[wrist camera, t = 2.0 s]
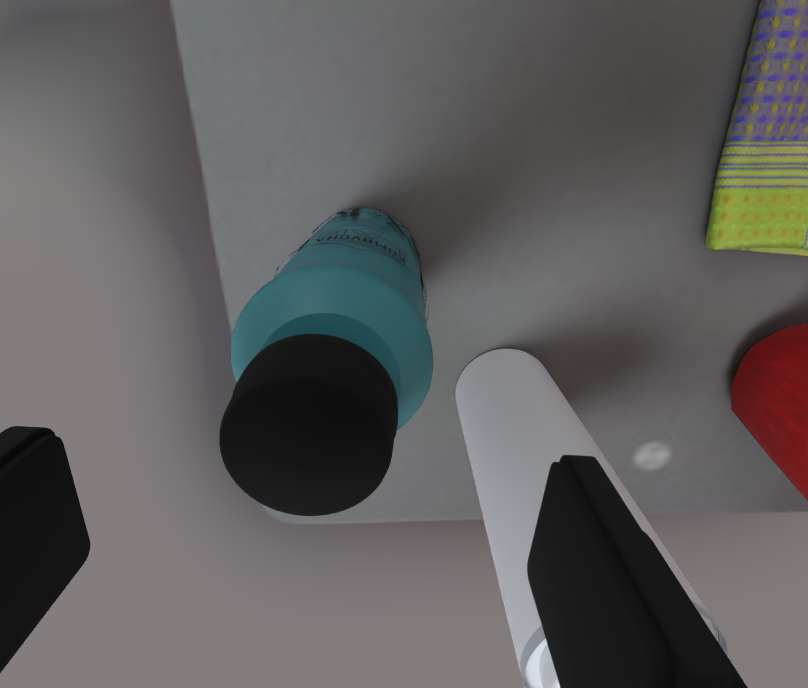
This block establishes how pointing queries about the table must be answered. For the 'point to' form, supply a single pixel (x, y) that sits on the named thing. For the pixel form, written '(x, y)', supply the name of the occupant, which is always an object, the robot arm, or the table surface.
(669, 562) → the spray bottle
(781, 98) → the dish towel
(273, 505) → the beverage bottle
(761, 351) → the apple
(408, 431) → the table surface
